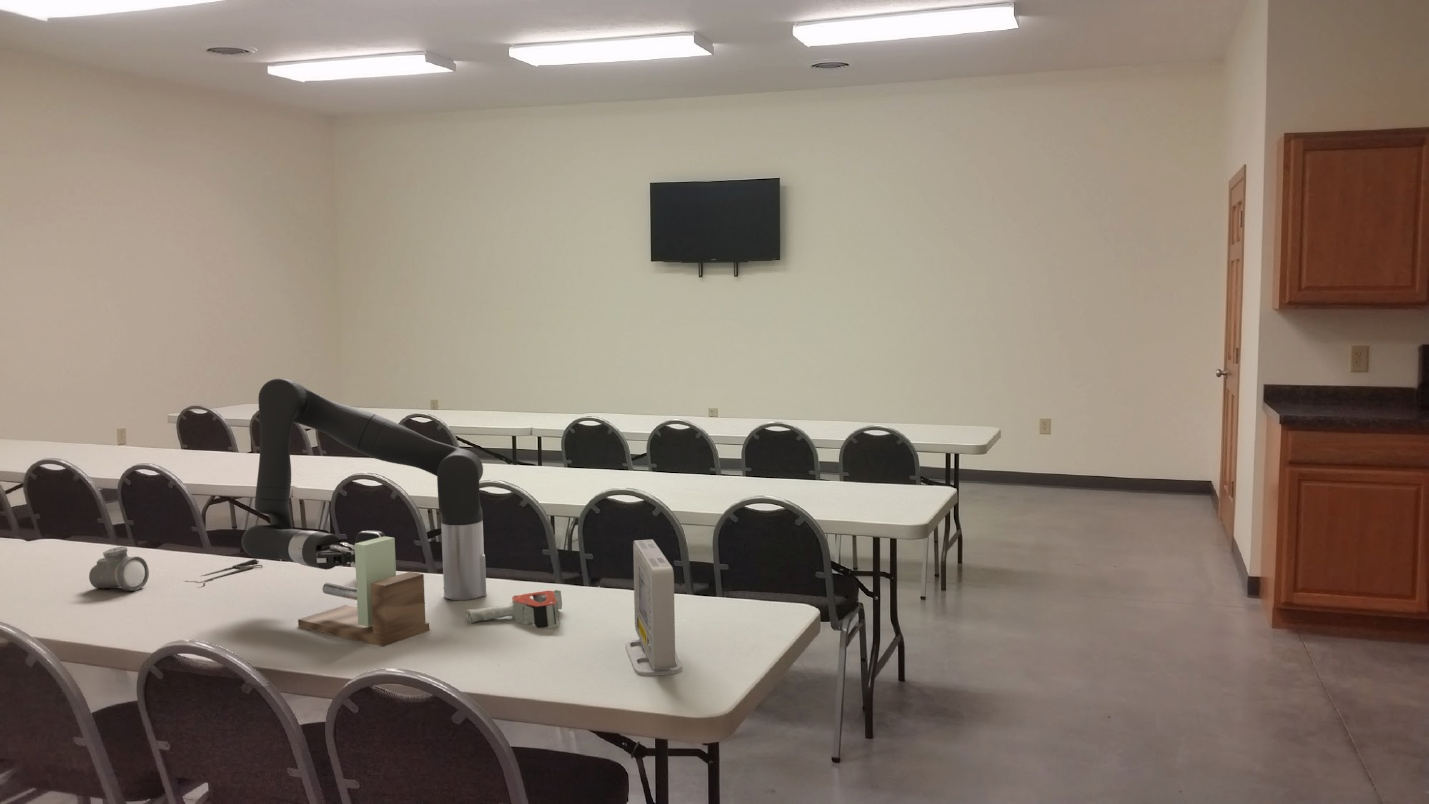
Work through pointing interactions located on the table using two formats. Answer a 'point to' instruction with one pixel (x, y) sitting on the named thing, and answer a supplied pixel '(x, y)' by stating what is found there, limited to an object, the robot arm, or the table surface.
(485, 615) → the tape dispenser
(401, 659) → the table surface
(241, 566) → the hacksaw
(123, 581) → the pipe fitting
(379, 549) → the pale green tall slab
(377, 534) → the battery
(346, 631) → the base board
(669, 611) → the network device
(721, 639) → the table surface
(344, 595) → the pipe
